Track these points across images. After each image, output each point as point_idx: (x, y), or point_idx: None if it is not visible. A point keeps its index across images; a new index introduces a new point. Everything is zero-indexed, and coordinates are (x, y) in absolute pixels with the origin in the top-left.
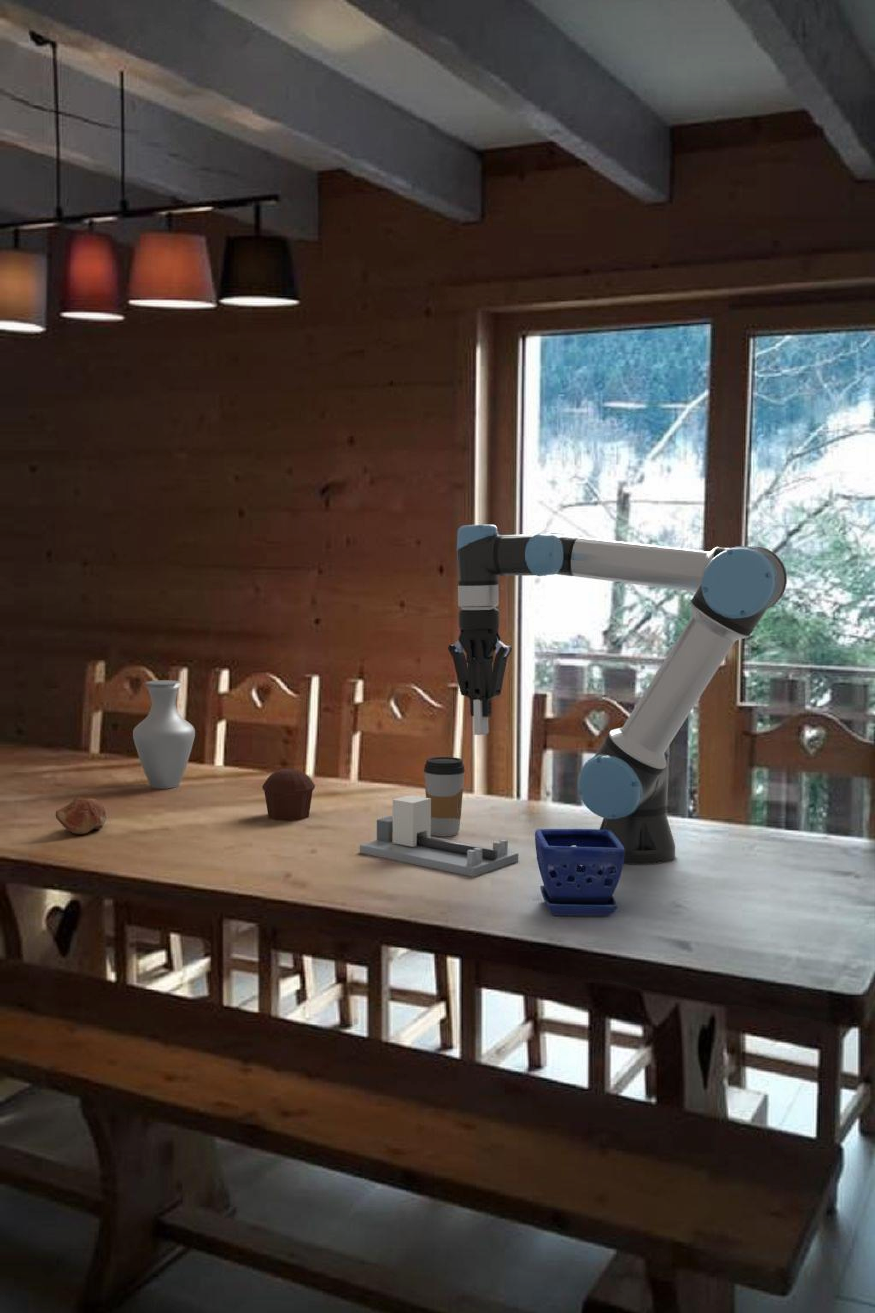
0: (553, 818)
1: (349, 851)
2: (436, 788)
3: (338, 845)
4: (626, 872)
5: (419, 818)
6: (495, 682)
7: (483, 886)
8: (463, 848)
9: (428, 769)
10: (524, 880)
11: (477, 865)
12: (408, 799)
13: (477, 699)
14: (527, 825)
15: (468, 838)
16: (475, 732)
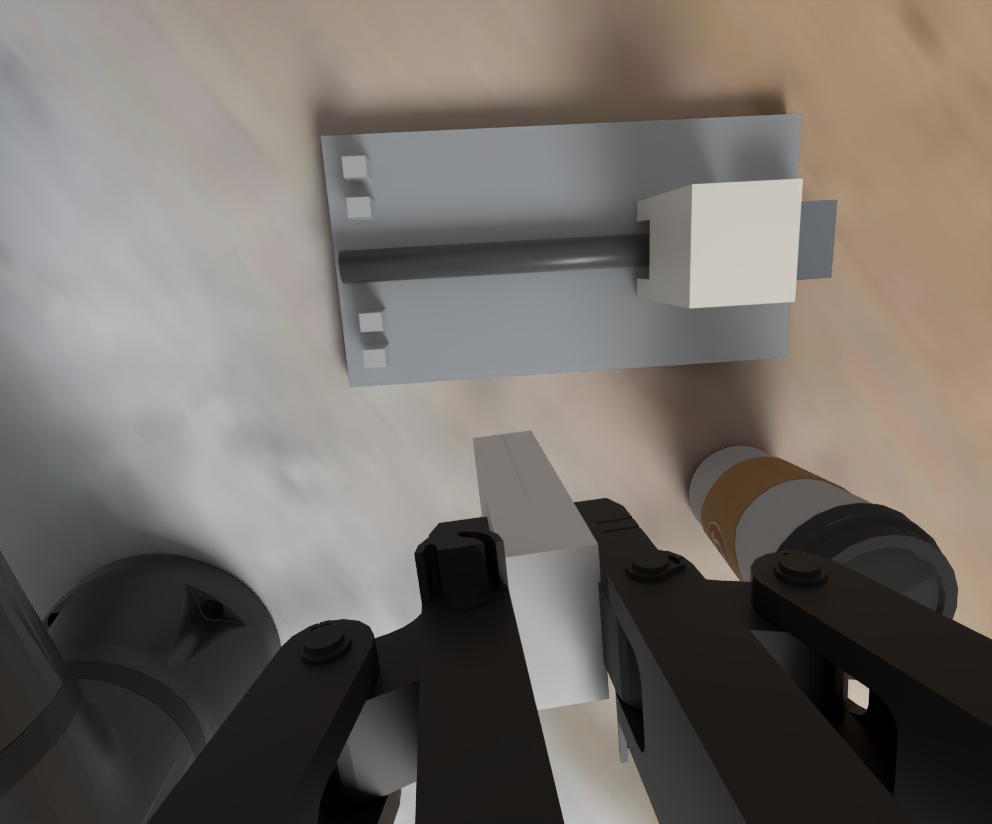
0: (593, 806)
1: (824, 110)
2: (801, 491)
3: (898, 145)
4: (54, 496)
5: (667, 233)
6: (167, 812)
7: (227, 70)
8: (455, 245)
9: (888, 515)
10: (190, 220)
11: (337, 175)
12: (750, 227)
13: (593, 614)
14: (599, 706)
15: (635, 488)
16: (521, 437)
